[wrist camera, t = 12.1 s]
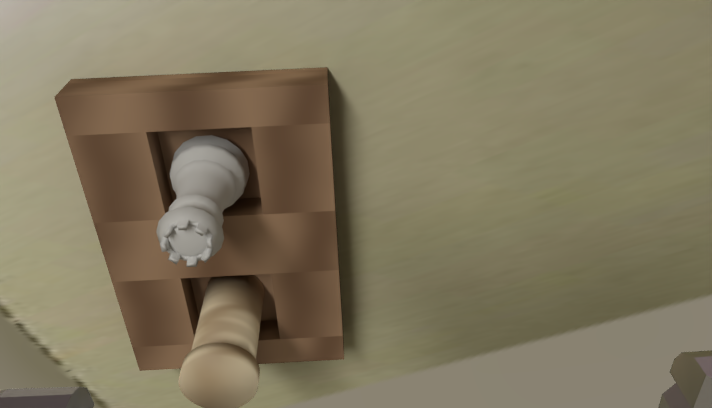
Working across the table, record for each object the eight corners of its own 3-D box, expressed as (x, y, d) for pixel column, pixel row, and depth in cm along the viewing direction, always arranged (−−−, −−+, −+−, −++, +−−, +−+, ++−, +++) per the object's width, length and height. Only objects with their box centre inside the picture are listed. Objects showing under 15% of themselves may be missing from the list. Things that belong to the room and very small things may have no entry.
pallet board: (327, 67, 34) (328, 136, 27) (343, 333, 45) (346, 434, 38) (71, 79, 34) (2, 152, 27) (148, 344, 45) (114, 447, 38)
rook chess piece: (156, 159, 36) (118, 240, 29) (213, 116, 35) (187, 190, 28) (210, 210, 38) (186, 296, 31) (266, 171, 37) (253, 252, 30)
